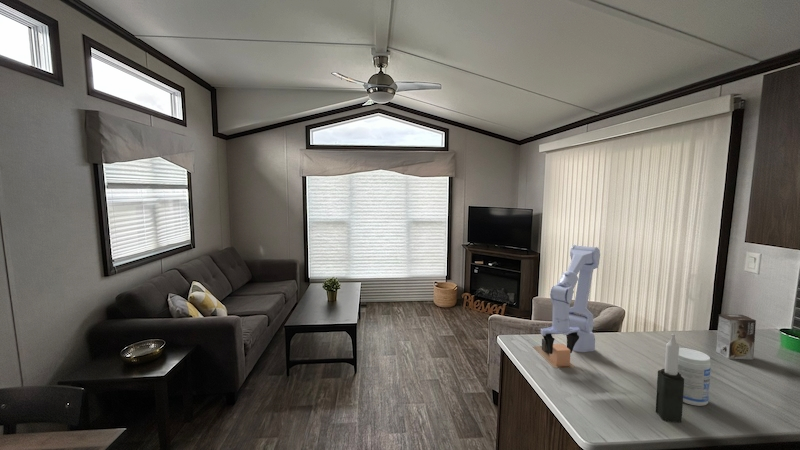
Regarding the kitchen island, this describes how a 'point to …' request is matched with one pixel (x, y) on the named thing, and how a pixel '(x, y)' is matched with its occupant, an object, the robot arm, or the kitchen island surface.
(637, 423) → the kitchen island surface
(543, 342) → the stand
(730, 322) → the printed cardboard box
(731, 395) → the kitchen island surface
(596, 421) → the kitchen island surface
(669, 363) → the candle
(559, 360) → the peach cube
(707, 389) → the supplement tub
